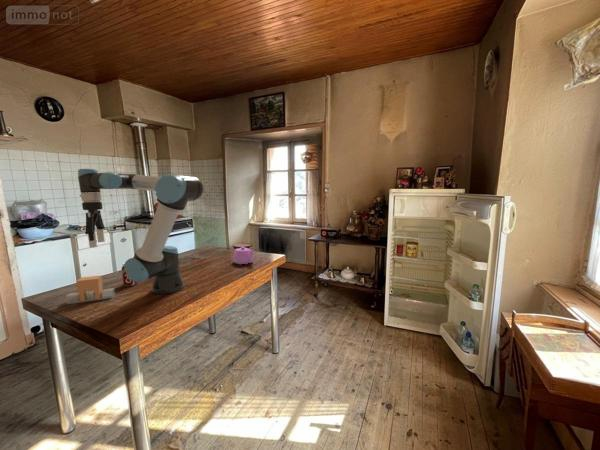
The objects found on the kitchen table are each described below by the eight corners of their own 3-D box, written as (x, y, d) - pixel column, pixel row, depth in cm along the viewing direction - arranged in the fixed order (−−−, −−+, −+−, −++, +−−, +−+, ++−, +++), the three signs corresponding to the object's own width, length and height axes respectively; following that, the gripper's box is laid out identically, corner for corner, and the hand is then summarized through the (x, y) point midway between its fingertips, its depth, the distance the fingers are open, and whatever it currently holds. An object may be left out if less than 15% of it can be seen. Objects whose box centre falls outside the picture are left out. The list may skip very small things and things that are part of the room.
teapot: (227, 263, 183) (227, 247, 181) (241, 258, 194) (241, 243, 192) (247, 268, 172) (246, 251, 170) (261, 263, 182) (260, 247, 181)
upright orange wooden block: (103, 294, 127) (101, 275, 126) (100, 298, 123) (97, 278, 121) (83, 297, 125) (81, 277, 123) (79, 301, 120) (76, 281, 118)
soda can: (136, 281, 147) (134, 261, 145) (139, 284, 142) (137, 264, 141) (122, 284, 142) (120, 263, 141) (124, 288, 138) (122, 266, 136)
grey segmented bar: (115, 295, 129) (114, 287, 128) (113, 297, 126) (112, 290, 125) (70, 301, 122) (69, 293, 122) (67, 304, 119) (65, 296, 118)
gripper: (90, 200, 133) (95, 240, 136) (72, 203, 111) (79, 250, 114) (107, 200, 136) (112, 239, 139) (93, 202, 114) (99, 248, 117)
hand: (97, 244), depth 127 cm, fingers open, 13 cm apart
